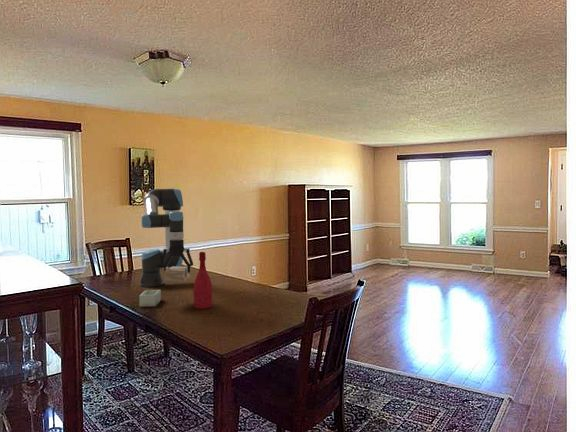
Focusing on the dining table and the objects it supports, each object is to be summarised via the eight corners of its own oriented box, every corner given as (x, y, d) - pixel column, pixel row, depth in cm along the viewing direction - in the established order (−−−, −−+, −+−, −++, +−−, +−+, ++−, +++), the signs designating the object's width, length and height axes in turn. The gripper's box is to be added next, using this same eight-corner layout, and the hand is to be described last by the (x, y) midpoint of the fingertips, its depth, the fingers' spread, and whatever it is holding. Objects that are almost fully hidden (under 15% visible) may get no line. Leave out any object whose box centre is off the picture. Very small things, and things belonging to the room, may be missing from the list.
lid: (172, 276, 247) (172, 266, 247) (189, 276, 247) (189, 266, 246) (164, 282, 232) (163, 271, 232) (182, 282, 232) (182, 271, 231)
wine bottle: (216, 306, 232) (215, 251, 230) (203, 310, 223) (203, 253, 221) (202, 303, 237) (201, 250, 235) (189, 308, 228) (188, 252, 226)
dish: (145, 300, 245) (145, 290, 245) (160, 300, 245) (160, 289, 245) (139, 306, 232) (139, 295, 232) (155, 306, 232) (155, 295, 232)
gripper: (154, 240, 233) (154, 280, 235) (196, 239, 235) (197, 279, 236) (157, 238, 241) (158, 277, 242) (198, 238, 242) (198, 276, 244)
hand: (177, 278), depth 239 cm, fingers closed on lid, 10 cm apart
